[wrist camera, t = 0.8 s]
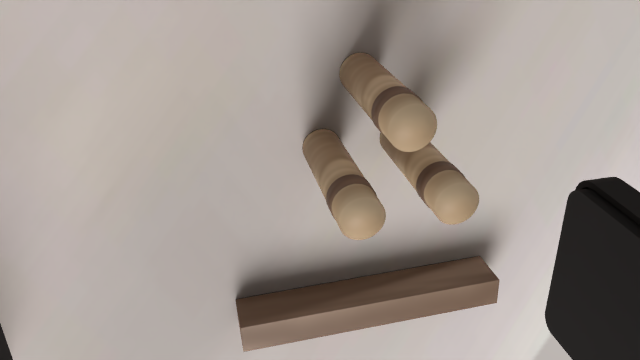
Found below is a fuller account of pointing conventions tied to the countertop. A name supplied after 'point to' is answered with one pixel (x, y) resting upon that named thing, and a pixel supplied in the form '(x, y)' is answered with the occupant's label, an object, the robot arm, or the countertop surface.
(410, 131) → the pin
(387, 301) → the back wall
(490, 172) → the countertop surface
